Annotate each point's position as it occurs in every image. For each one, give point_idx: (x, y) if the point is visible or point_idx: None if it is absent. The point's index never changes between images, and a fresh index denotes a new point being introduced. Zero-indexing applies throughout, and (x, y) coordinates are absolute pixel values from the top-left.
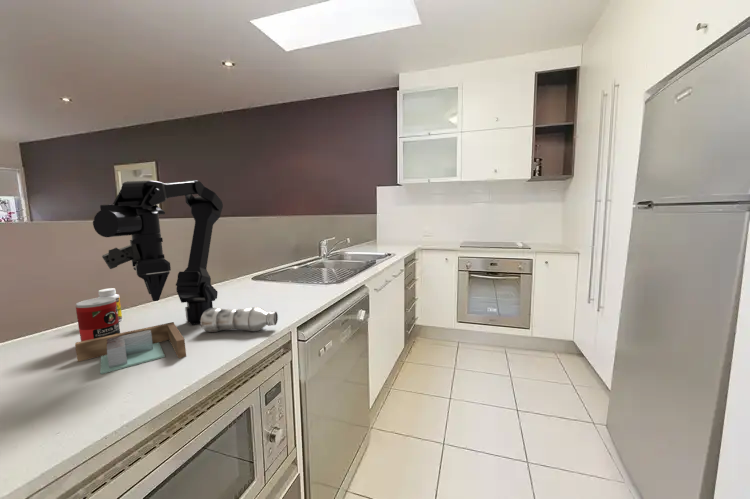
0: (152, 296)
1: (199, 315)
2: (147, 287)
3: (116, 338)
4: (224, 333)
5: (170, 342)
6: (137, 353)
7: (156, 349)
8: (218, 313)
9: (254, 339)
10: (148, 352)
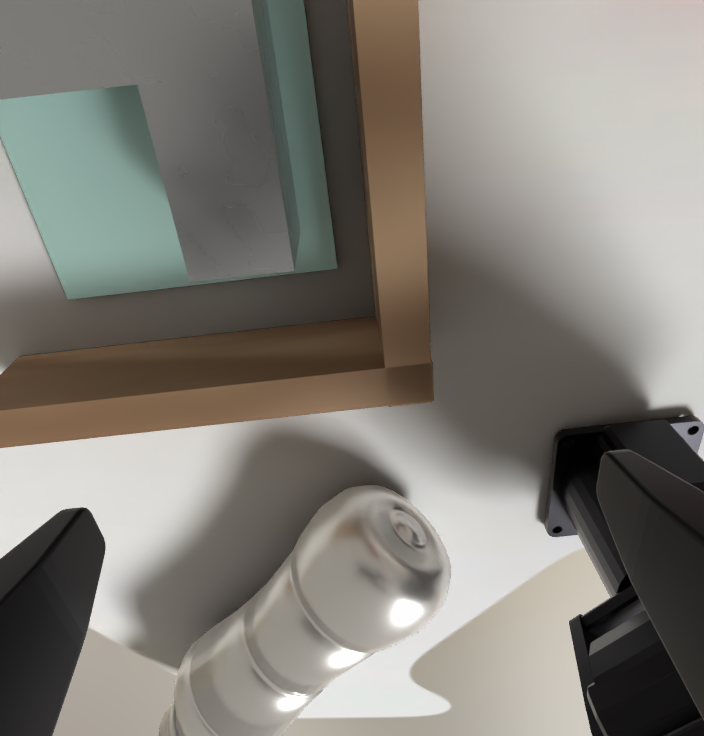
0: (6, 565)
1: (580, 504)
2: (665, 522)
3: (194, 6)
4: (286, 539)
5: (310, 324)
6: None
7: None
8: (309, 627)
9: (122, 613)
10: (169, 214)
